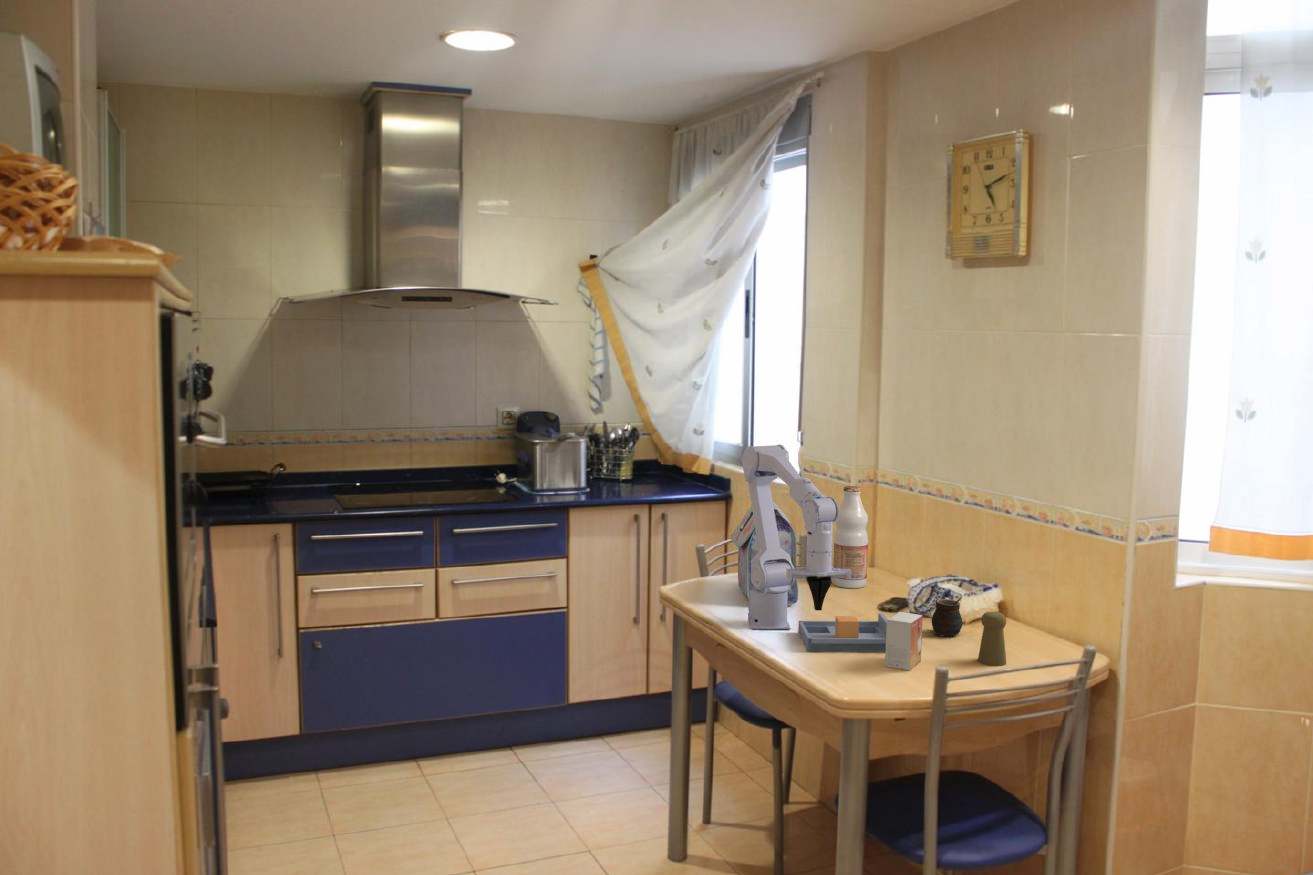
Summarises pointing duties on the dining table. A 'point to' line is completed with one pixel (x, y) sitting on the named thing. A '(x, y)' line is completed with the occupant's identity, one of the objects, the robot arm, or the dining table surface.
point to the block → (846, 627)
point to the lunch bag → (749, 548)
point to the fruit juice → (851, 539)
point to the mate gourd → (947, 618)
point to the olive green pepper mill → (992, 640)
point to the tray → (824, 640)
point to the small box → (903, 640)
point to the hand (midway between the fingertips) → (817, 609)
